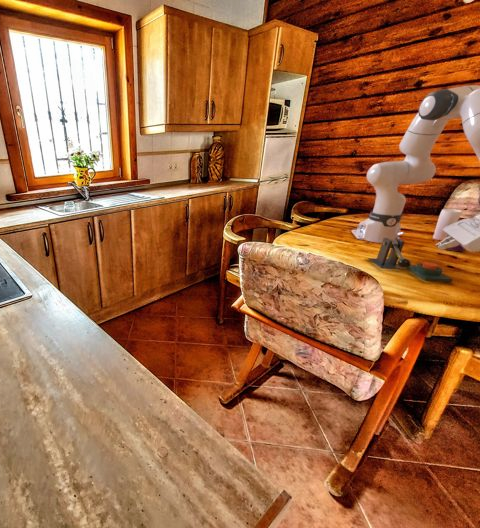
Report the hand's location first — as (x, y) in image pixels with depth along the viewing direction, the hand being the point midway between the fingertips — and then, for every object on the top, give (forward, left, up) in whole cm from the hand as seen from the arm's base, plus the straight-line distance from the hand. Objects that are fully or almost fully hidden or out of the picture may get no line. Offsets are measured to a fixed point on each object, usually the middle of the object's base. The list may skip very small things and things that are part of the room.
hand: (438, 247), depth 100 cm
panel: (-3, +2, -13) cm, 13 cm away
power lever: (-7, -7, -7) cm, 12 cm away
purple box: (-36, +31, -13) cm, 49 cm away
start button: (-3, +2, -9) cm, 10 cm away
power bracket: (-12, -7, -13) cm, 19 cm away
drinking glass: (-51, +35, -13) cm, 63 cm away
